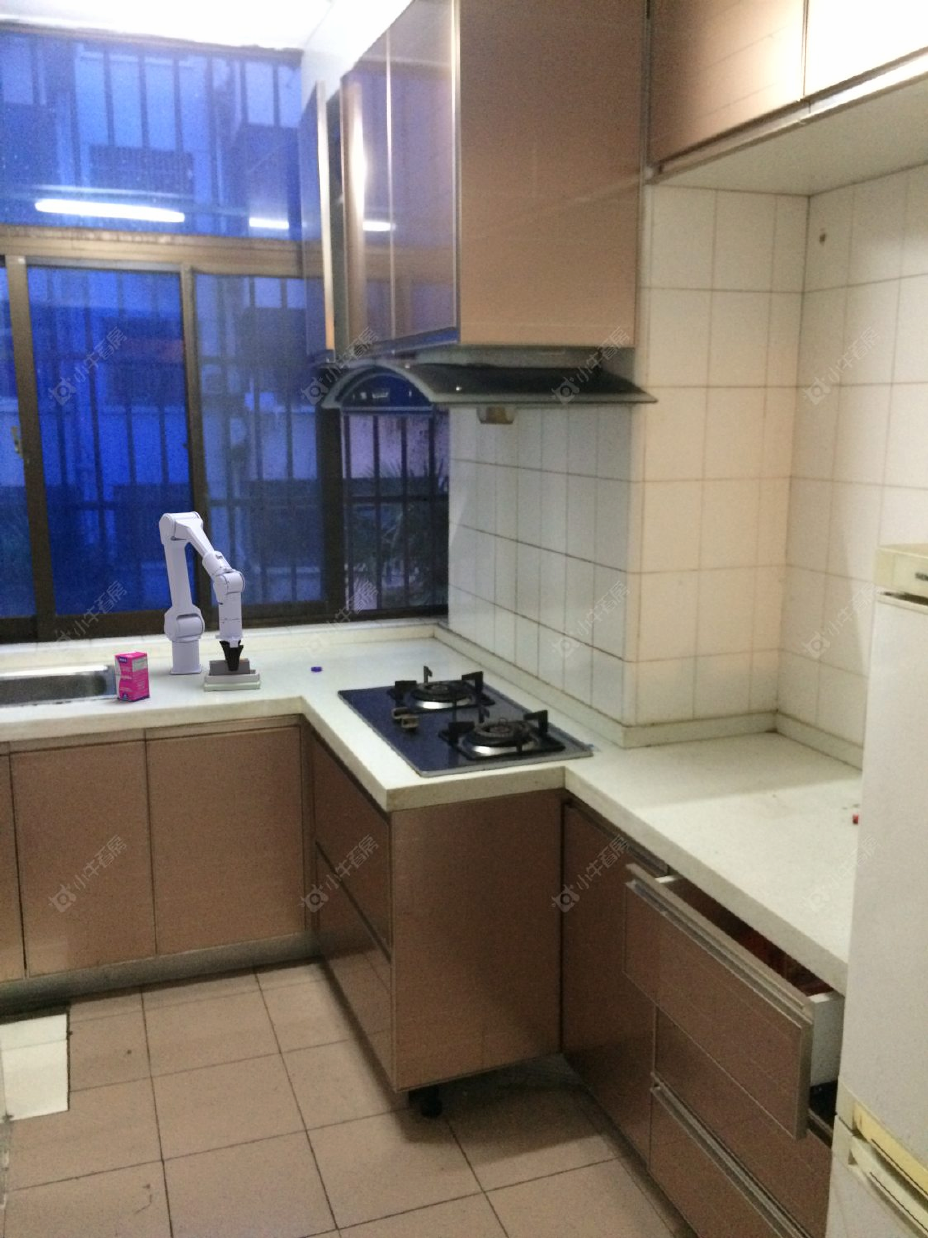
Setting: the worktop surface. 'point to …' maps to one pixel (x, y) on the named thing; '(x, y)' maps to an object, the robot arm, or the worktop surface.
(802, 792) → the worktop surface
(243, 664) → the charcoal bar
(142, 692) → the supplement box
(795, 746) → the worktop surface
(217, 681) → the mounting board
